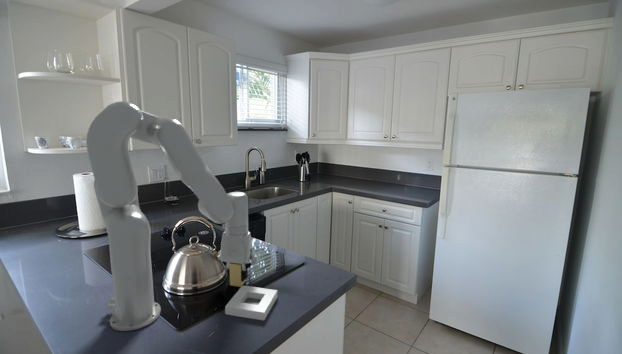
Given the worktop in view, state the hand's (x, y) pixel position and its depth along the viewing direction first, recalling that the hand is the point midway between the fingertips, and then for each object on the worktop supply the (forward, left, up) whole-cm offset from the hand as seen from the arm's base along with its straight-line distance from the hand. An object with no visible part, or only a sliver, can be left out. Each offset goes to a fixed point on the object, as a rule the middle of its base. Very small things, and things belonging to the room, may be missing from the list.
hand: (237, 278), depth 106 cm
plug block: (0, 0, -2) cm, 2 cm away
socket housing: (+10, -11, -2) cm, 15 cm away
